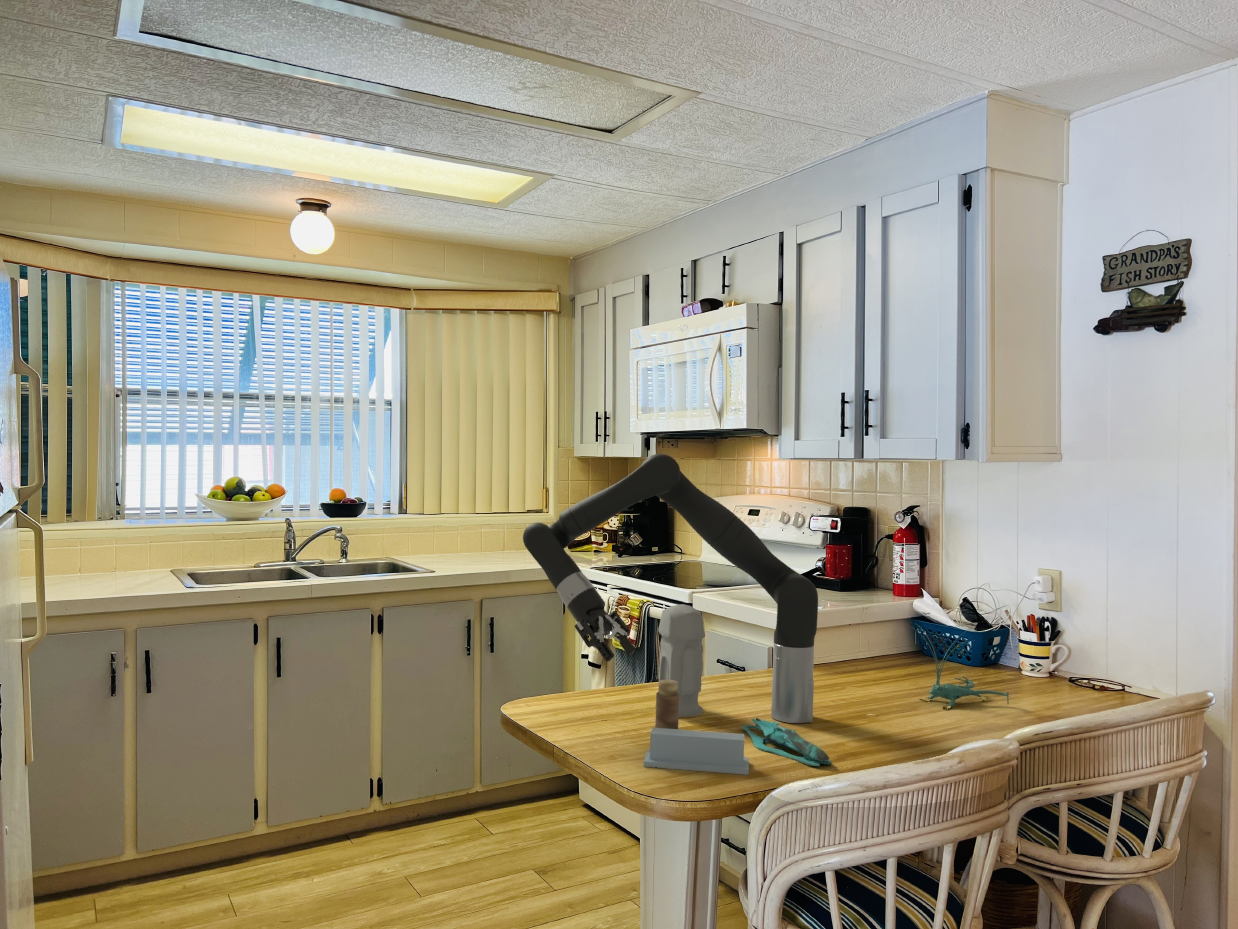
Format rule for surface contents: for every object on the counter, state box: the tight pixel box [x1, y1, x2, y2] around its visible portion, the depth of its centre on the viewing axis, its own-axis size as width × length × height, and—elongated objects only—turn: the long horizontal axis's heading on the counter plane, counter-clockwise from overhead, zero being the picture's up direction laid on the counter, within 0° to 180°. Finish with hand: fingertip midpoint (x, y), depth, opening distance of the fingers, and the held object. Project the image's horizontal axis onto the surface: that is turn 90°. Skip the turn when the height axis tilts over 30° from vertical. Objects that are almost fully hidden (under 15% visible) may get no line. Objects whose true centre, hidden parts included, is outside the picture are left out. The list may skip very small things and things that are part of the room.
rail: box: [643, 727, 750, 776], centre depth 177 cm, size 20×7×6 cm, turn 82°
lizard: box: [910, 622, 1010, 707], centre depth 228 cm, size 23×25×21 cm
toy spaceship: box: [741, 717, 833, 767], centre depth 189 cm, size 11×27×5 cm, turn 27°
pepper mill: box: [654, 680, 680, 729], centre depth 191 cm, size 5×5×12 cm
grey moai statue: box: [658, 604, 706, 718], centre depth 214 cm, size 15×10×25 cm
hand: (621, 656), depth 197 cm, fingers open, 8 cm apart
